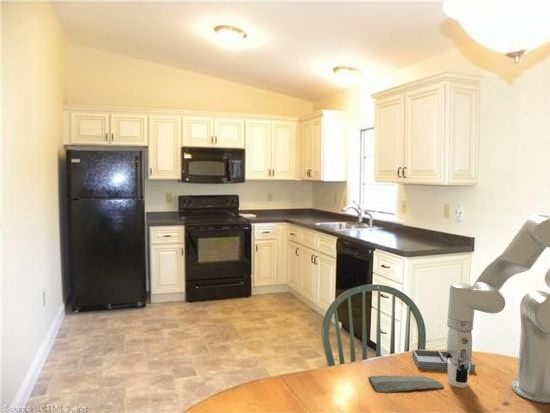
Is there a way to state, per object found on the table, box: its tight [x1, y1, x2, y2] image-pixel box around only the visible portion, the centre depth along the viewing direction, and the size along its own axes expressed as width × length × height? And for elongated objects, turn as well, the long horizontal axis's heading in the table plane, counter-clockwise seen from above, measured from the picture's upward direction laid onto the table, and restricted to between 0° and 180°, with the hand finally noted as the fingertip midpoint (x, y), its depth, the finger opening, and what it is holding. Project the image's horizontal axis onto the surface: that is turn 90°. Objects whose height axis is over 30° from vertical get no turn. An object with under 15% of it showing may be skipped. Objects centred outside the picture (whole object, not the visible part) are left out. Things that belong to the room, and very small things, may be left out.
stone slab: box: [368, 375, 445, 394], centre depth 133 cm, size 22×3×10 cm
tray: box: [411, 348, 476, 373], centre depth 147 cm, size 10×19×2 cm, turn 84°
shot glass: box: [447, 358, 470, 388], centre depth 134 cm, size 7×7×7 cm
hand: (456, 374), depth 134 cm, fingers open, 9 cm apart
